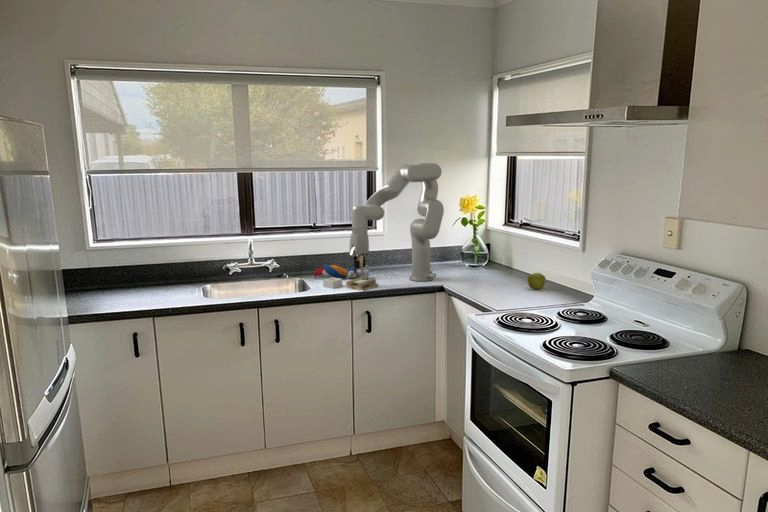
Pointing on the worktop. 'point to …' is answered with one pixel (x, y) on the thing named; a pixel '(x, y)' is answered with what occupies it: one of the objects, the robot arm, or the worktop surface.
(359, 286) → the tester base
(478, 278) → the worktop surface
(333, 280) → the holder
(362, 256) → the cylinder
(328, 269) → the figurine
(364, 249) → the robot arm
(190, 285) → the worktop surface
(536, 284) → the apple
